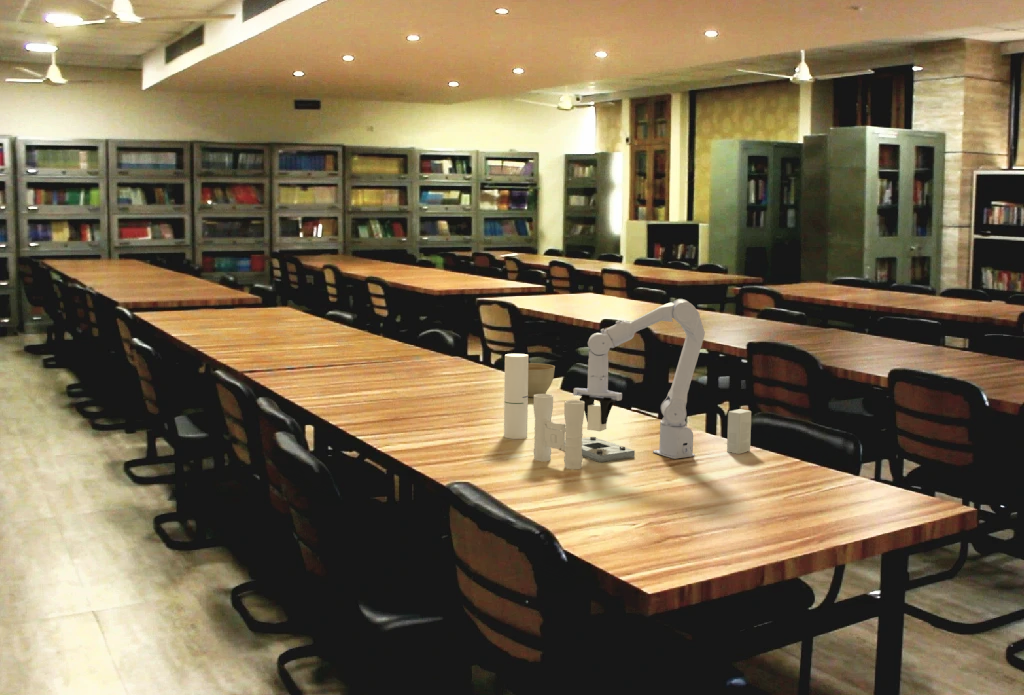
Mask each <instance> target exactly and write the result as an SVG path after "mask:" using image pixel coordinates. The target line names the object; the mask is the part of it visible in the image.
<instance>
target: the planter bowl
mask: <svg viewBox="0 0 1024 695" xmlns="http://www.w3.org/2000/svg"><path fill="white" fill-rule="evenodd" d="M555 368H556V366H555V365H553V364H549V363H538V362H537V363H536V362H535V363H534V362H528V398H534V395H536V394H547V392H548V390H549V389H550V387H551V386H552V383H553V380H554V377H555V370H556V369H555Z"/></svg>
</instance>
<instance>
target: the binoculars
mask: <svg viewBox="0 0 1024 695" xmlns="http://www.w3.org/2000/svg"><path fill="white" fill-rule="evenodd" d="M584 403H585V402H584V401H580V399H579V400H578V399H567V400H565V401H564V411H563V413H564V415H563V416H564V422H565V423H562V422H561V423H559V422H554V421H552V417H553V409H554V395H553V394H551V393H546V394H536V395H534V397H533V414H534V437H533V438H534V443H533V444H534V445H533V446H534V447H533V459H534V461H537V462H549V461H551V457H552V456H551V455H552V449H557V450H558V449H559V450H561V451H564V457H563V462H564V469H567V470H580V469H582V464H583V456H582V438H583V424H584V418H585V411H584Z"/></svg>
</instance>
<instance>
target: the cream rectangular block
mask: <svg viewBox="0 0 1024 695" xmlns="http://www.w3.org/2000/svg"><path fill="white" fill-rule="evenodd" d="M607 424H608V422H607V423H606V424H601V406H600V403H595V402H594V404H591V405H588V422H587V430H588V431H594V432H601V431H605V430H607Z"/></svg>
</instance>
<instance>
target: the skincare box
mask: <svg viewBox="0 0 1024 695" xmlns="http://www.w3.org/2000/svg"><path fill="white" fill-rule="evenodd" d="M727 412H728V414H727V443H726V453H730V452H732V453H731V454H735V453H736V454H737V455H741V454H744V453H747V451H748V452H750V451H751V436H752V435H751V433H752V432H751V430H752V411H751V410H747V409H743V408H739V409H737V408H736V409H733V410H729V411H727ZM736 454H735V455H736Z"/></svg>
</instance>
